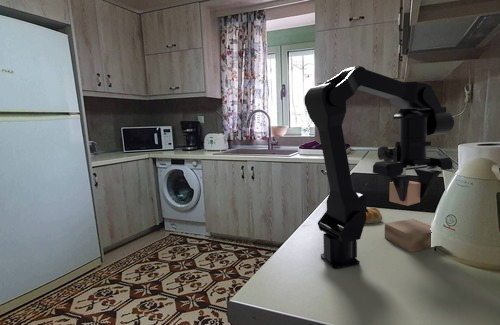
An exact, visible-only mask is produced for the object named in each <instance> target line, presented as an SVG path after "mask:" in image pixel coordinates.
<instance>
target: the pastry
mask: <svg viewBox="0 0 500 325" xmlns="http://www.w3.org/2000/svg"><path fill="white" fill-rule="evenodd" d="M367 210H368V212H366V217H367V218H366V222H365V224H364V225H366V224H367V225H368V224H376V223H380V222H382V221H383V216H382V214H381V212H380V210H379V209H378V208H377V207H369V208H367Z"/></svg>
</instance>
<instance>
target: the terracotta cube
mask: <svg viewBox="0 0 500 325" xmlns="http://www.w3.org/2000/svg"><path fill="white" fill-rule="evenodd" d="M420 185H421V183H419V182H418V181H412V180H409V185H408V190H407V194H406V198H405V201H400V199H399V196H398V193H397V191H396V188H395V186H394V184H393V182H391V181H390V182H389V190H388V191H389V194H388V195H389V197H388V198H389V200H388V201H389V202H391V203H393V204H394V203H395V204H399V205H403V206H408V207H409V206H411V205H415V204H419V203H420V202H421V198H420Z"/></svg>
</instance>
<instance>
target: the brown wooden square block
mask: <svg viewBox="0 0 500 325" xmlns="http://www.w3.org/2000/svg"><path fill="white" fill-rule="evenodd" d="M431 226H432V225H430V224H427V223H425V222H423V221H420V220H418V219H415V218H411V219H405V220H404V219H403V220H398V221H397V220H396V221H391V222H386V223H384V238H385V239H386V240H388V241H389V242H391V243H393V244H395V245H397V246H399V247H401V248H403V249H404V250H406V251H408V252H410V253H412V252H413V253H414V252H418V251H419V252H420V251H422V250H428V249H432V248H431V233H432V232H431V230H430V228H431Z"/></svg>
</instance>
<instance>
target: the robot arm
mask: <svg viewBox="0 0 500 325" xmlns="http://www.w3.org/2000/svg"><path fill="white" fill-rule="evenodd" d="M357 91H361V92H363V93H367V94H371V95H374V96H376V97H381V98H384V99H387V100H389V101H390V103H391V104H392V105H393V106H395V107H397V108H399V111H398V112H397V113H395V114H394V115H393V117H392V119H393V120H399V140H398V141H395V143H394V144H395V145H394V147H393V148H392V147H391V148H389V147H388V146H380V147H378V148H377V157H378V160H380V161H375V162H374V164H373V165H372V174H375V175H380V176H384V177H388V178H389V179H390V180H391V181H392V182H393V184H394V186H395V188H396V191H397V193H398V196H399V199H400V201H405V198H406V194H407V190H408V185H409V181H411V180H410V179H411V175H409V174H406V173H407V171H410V170H414V172H415V173H416V175H417V182H419V183H421V185H420V200H421V199H422V200H423V199H425V196H426V195H427V193H428V192H429V190H430V189H431V187H432V185H433V184H434V182H435V181H436V179H437V178H439V175H442V174H443V171H449V170H453V162H454V161H453V160H452V159H451V158H450V157H448V156H442V155H441V156H440V155H439V156H438V155H428V156H427V147H428V146H432V141H431V140H430V141H429V140H427V138H428V136H436V135H445V134H448V133H450V132H451V131H452V130H453V128H454V125H455V119H454V117H453V115H452V114H451V113H450V112H448V111H447V106H442V104H441V103H440V101H439V98H438V96H437V95H436V92H435V91H434V89H433V86H432V85H431V84H430V83H428V82H425V81H402V80H400V79H395V78H393V77H390V76H387V75H384V74H381V73H378V72H376V71H373V70H370V69H366V68H365V67H364V66H362V65H356V66H353V67H349V68H345V69H343V70H342V71H340V73H338V74H336V75H335V76H334V77H332V78H331V79H328V80H326V81H325V82H323V83H322V84H320V85H316V86H312V87H311V88H309V89H308V90H307V92H306V94H305V95H304V100H303V101H304V106H305V108H306V111H307V114H308V116H309V119H310V120H311V121H312V122H313V125H315V127H316V128H317V130H318V135H319V139H320V145H321V149H322V155H323V160H324V164H325V171H326V175H327V176H326V177H327V181H328V185H329V193H328V196H327V199H326V211H325V212H324V213H323V214H322V216H321V217H320V219H319V220H318V221H317V225H318V228H319V231H321V232H324V233H323V253H320V258H322V259H323V260H324V261H325V262H326V263H327V264H328V265H329V266H330V267H331V268H333V269H340V268H341V269H342V268H345V267H350V266H351V267H352V266H356V265H360V264H361V263H360V260H359V259H357V257H358V240H359V241H360V239H361V237H362V234H363V230H364V226H365V225H366V224H365V222H366V218H367V217H366V212H368V210H367V209H368V208H367V200H366V196H365V194H363V193H359V192H356V191H355V189H354V186H353V180H352V175H351V170H350V163H349V157H348V152H347V148H346V142H345V136H344V131H343V122H344V119H345V117H346V113H347V101H349V99H350V98H351V97H353V96H354V95H355V94H356V92H357ZM438 168H440V169H441V170H438Z"/></svg>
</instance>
